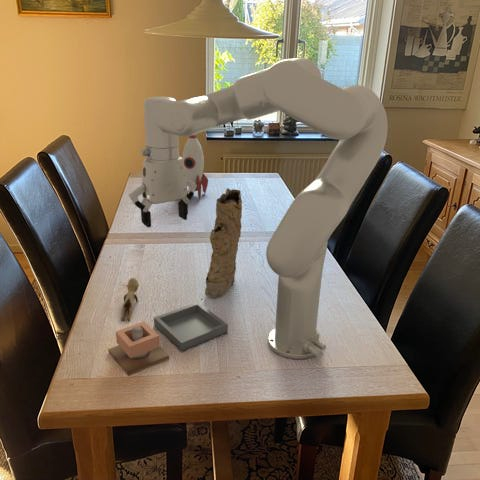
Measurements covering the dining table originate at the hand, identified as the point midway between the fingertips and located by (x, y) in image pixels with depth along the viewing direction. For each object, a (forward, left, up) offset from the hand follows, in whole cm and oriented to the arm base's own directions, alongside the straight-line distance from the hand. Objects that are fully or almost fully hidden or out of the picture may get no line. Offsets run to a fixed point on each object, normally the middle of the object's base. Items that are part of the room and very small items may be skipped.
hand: (165, 221), depth 121 cm
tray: (-12, +1, -24) cm, 27 cm away
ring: (-14, +16, -21) cm, 30 cm away
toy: (+76, -56, -25) cm, 98 cm away
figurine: (+7, +8, -25) cm, 27 cm away
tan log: (-2, -16, -25) cm, 30 cm away
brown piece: (-14, +16, -24) cm, 32 cm away
